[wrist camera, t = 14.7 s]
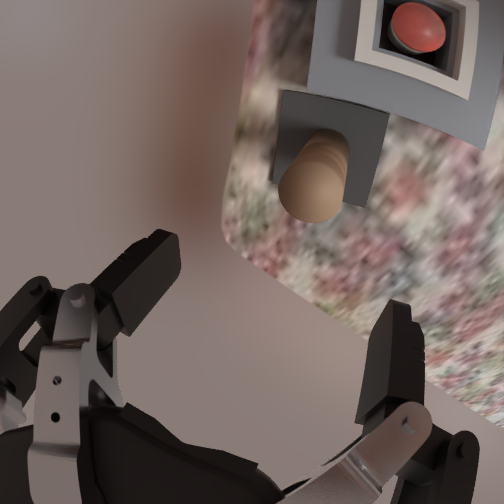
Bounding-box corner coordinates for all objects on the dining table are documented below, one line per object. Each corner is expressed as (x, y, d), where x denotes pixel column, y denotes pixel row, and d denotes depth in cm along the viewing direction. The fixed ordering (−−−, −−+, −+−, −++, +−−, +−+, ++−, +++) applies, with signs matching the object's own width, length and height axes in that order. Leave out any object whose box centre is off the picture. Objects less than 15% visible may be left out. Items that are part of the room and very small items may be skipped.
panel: (486, 3, 9) (513, -8, 4) (466, 138, 17) (491, 156, 13) (329, -48, 12) (319, -75, 7) (314, 89, 20) (302, 92, 16)
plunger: (432, 24, 13) (447, 14, 9) (427, 61, 15) (442, 59, 12) (388, 9, 13) (395, -5, 10) (384, 47, 16) (390, 40, 12)
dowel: (353, 134, 21) (349, 172, 14) (344, 172, 23) (334, 230, 16) (311, 124, 22) (282, 156, 14) (305, 162, 24) (274, 213, 17)
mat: (388, 113, 19) (389, 114, 19) (364, 205, 25) (364, 207, 24) (284, 89, 21) (283, 90, 21) (273, 181, 27) (272, 183, 26)
